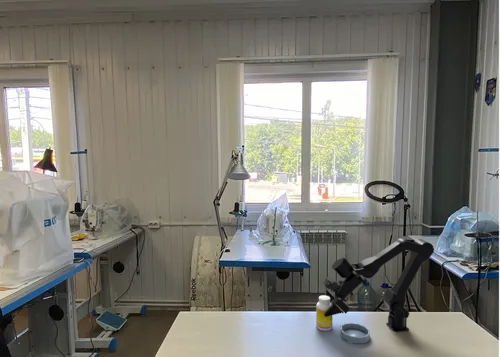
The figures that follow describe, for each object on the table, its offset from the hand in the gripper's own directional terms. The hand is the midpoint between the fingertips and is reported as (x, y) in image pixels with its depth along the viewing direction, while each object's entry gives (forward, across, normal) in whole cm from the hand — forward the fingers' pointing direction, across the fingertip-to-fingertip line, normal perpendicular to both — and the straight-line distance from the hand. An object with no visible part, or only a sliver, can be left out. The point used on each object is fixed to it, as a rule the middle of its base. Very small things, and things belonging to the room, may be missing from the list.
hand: (322, 310), depth 137 cm
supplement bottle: (+5, 0, +6) cm, 7 cm away
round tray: (-3, +7, +13) cm, 15 cm away
